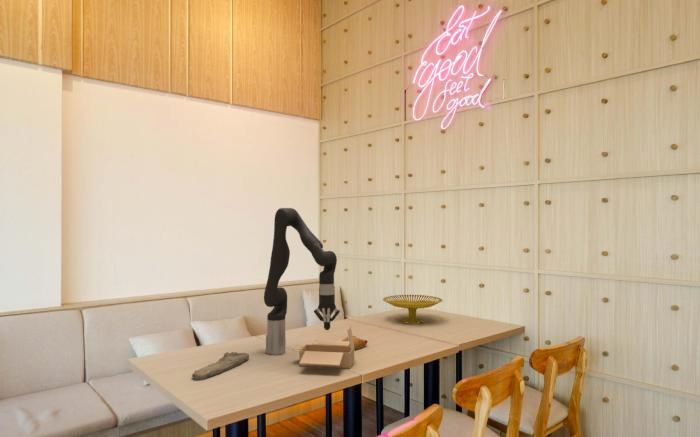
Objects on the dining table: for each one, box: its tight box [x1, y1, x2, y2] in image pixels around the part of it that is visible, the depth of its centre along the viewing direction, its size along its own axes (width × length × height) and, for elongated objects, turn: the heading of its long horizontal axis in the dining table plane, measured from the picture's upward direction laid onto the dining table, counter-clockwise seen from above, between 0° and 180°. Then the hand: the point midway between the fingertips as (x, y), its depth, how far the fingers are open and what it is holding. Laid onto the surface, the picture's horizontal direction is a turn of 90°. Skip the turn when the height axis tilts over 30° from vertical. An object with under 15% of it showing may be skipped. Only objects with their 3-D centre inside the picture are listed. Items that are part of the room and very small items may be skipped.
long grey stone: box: [191, 351, 250, 381], centre depth 208 cm, size 35×5×10 cm
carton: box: [292, 339, 355, 370], centre depth 219 cm, size 28×20×7 cm
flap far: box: [347, 325, 354, 351], centre depth 213 cm, size 1×7×10 cm, turn 171°
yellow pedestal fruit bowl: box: [382, 294, 443, 324], centre depth 306 cm, size 40×40×15 cm
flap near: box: [300, 351, 343, 366], centre depth 204 cm, size 1×18×10 cm
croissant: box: [340, 335, 369, 351], centre depth 240 cm, size 21×10×8 cm, turn 120°
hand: (327, 329), depth 215 cm, fingers closed
